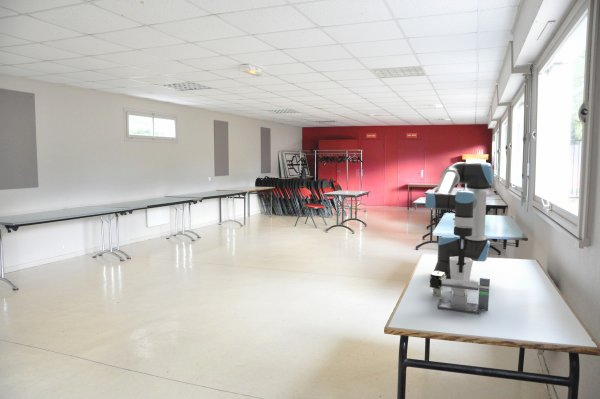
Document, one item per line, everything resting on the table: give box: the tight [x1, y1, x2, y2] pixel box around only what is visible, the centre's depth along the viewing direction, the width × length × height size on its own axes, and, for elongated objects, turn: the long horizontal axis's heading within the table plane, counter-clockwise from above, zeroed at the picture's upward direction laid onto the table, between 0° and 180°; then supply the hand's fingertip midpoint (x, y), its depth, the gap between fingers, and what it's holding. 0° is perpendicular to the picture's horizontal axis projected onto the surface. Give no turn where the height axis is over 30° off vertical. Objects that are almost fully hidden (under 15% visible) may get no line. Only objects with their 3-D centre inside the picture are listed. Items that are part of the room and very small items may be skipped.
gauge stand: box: [437, 277, 491, 315], centre depth 188 cm, size 20×11×14 cm, turn 68°
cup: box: [450, 256, 474, 294], centre depth 210 cm, size 11×10×17 cm
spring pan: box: [441, 278, 490, 296], centre depth 188 cm, size 19×9×6 cm, turn 68°
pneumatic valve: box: [429, 271, 446, 298], centre depth 205 cm, size 6×12×12 cm, turn 148°
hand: (460, 279), depth 188 cm, fingers closed
